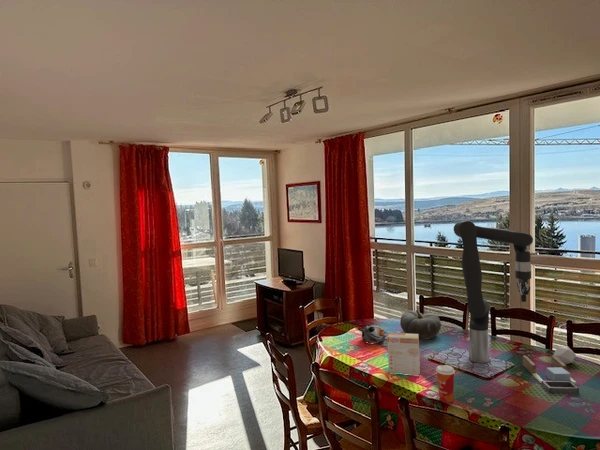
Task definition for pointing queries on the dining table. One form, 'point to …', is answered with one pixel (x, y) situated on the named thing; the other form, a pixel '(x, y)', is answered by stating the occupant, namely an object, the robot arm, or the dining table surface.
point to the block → (558, 374)
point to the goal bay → (542, 380)
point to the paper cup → (445, 382)
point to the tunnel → (532, 367)
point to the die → (564, 354)
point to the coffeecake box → (403, 353)
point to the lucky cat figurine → (373, 334)
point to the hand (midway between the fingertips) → (523, 301)
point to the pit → (560, 387)
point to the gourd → (420, 324)
